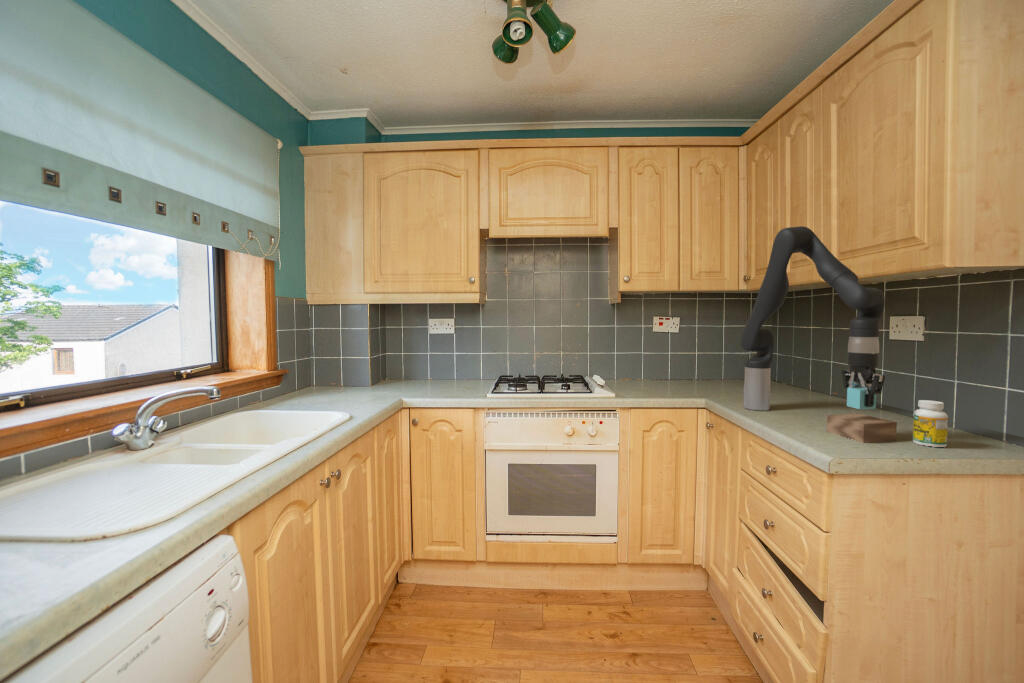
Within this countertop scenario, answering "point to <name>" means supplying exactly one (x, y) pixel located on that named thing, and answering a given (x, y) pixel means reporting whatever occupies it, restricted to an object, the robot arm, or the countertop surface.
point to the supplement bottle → (930, 424)
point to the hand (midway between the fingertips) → (861, 404)
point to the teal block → (858, 398)
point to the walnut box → (862, 427)
